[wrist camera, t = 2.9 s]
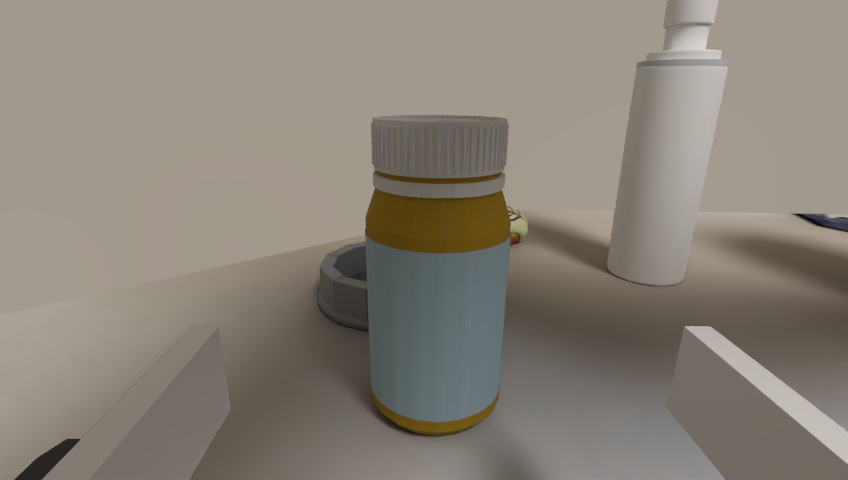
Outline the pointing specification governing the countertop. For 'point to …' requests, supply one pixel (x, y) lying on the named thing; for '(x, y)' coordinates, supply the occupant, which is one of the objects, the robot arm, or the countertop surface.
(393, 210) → the bottle
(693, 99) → the spray bottle
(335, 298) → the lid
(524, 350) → the countertop surface
